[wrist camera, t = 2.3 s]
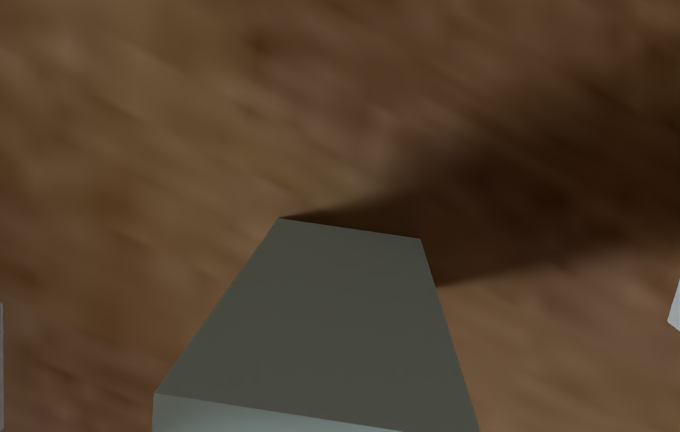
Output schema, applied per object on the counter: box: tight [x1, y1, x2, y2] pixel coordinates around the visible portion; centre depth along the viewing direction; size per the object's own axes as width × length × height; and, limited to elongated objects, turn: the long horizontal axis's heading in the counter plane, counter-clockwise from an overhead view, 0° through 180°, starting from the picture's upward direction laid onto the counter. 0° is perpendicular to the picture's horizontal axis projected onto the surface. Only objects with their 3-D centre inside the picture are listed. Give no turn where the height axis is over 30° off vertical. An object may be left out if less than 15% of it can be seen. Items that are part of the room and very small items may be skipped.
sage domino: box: [152, 218, 480, 432], centre depth 14 cm, size 2×5×11 cm, turn 82°
